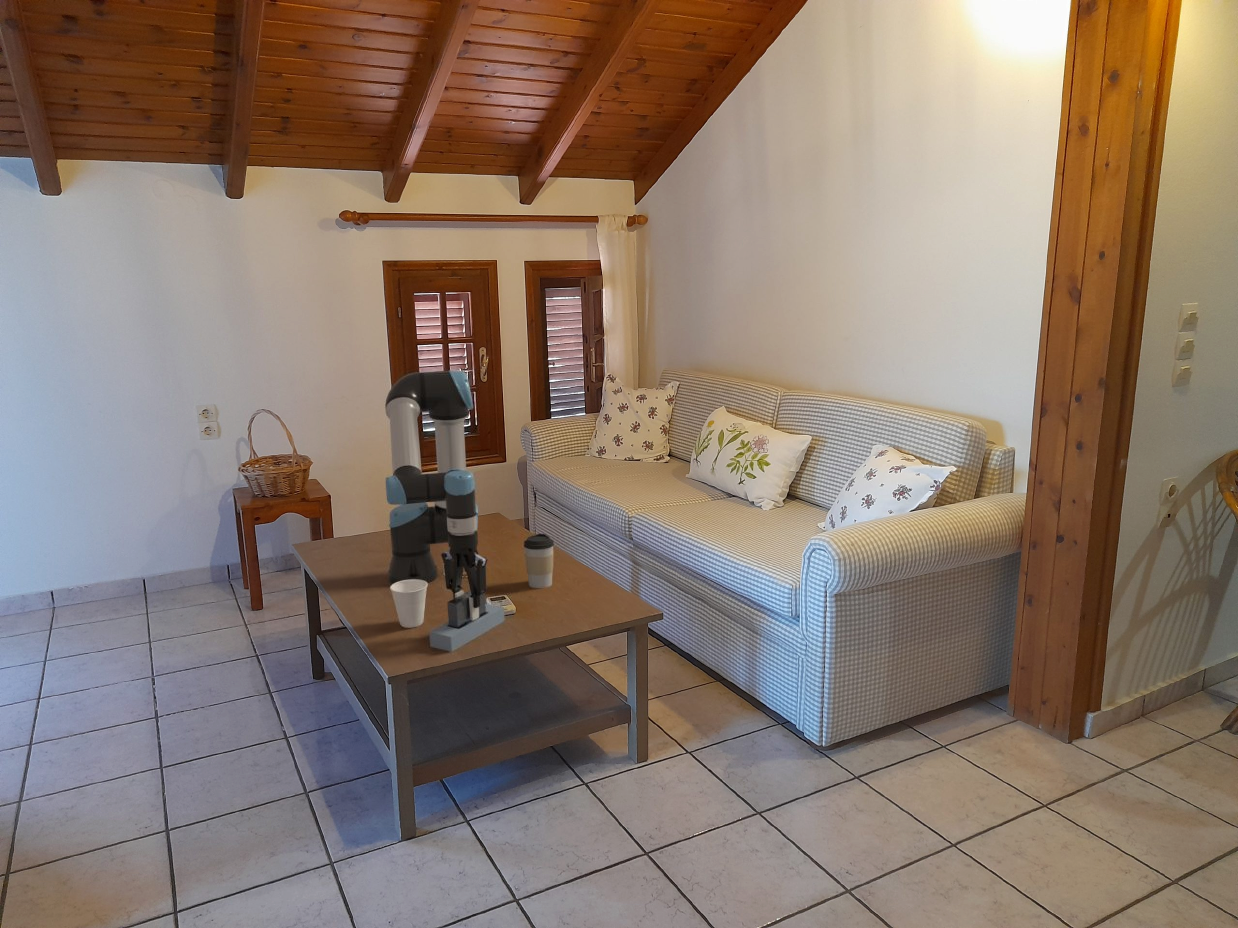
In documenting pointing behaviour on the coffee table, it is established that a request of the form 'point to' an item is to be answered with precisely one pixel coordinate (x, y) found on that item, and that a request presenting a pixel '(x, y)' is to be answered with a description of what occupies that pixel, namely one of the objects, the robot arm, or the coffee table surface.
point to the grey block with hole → (466, 630)
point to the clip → (463, 610)
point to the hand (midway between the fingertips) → (467, 616)
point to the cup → (410, 601)
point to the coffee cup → (539, 560)
